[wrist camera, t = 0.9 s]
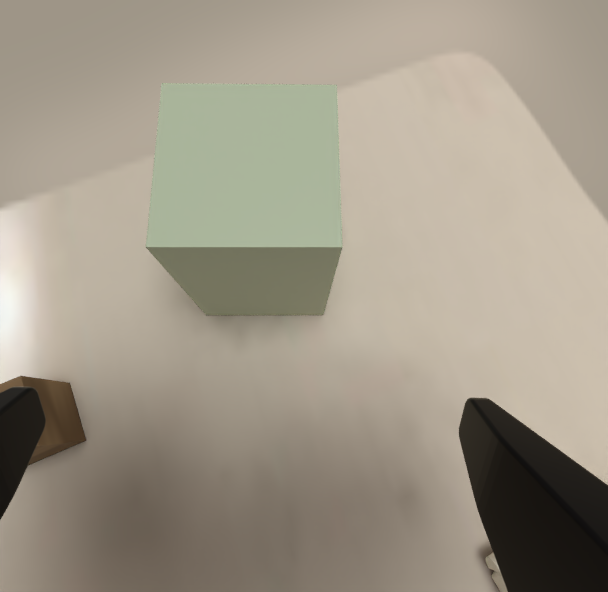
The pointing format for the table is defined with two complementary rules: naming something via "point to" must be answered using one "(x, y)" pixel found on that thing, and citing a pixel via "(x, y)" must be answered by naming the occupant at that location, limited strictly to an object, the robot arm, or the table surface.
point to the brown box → (53, 415)
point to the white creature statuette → (496, 572)
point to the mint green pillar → (248, 196)
